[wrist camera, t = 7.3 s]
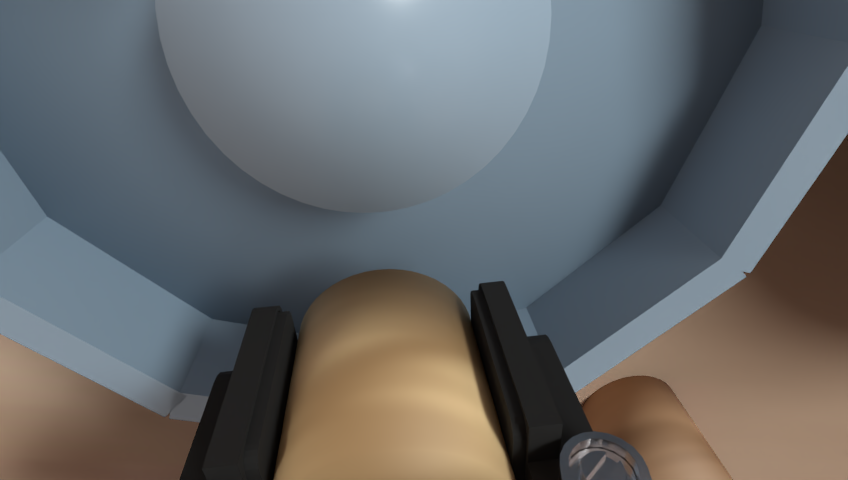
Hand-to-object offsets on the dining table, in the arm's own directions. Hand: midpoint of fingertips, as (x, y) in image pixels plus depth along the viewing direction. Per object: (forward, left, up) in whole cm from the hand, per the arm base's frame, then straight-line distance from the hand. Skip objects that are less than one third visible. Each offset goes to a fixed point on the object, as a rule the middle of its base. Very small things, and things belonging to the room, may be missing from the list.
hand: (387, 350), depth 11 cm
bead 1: (0, 0, 0) cm, 0 cm away
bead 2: (-11, -7, -5) cm, 14 cm away
